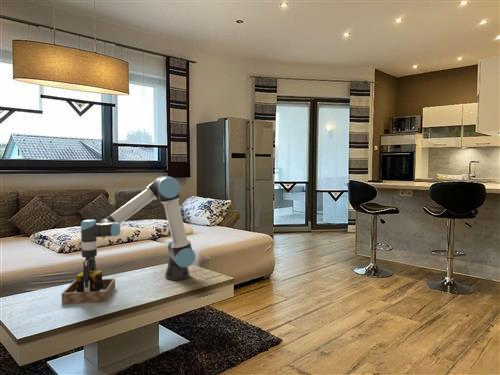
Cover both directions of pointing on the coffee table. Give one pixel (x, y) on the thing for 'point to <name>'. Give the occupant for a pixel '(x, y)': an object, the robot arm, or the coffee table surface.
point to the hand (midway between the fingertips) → (90, 289)
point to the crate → (88, 293)
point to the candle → (94, 278)
